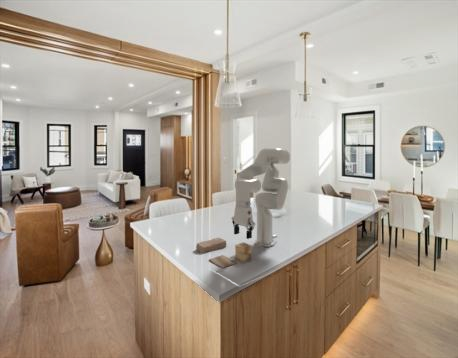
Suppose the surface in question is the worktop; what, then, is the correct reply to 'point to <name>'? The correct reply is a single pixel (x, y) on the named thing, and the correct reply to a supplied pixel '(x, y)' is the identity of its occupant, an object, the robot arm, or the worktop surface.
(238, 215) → the robot arm
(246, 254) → the oak block
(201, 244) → the brick
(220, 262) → the walnut board
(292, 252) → the worktop surface
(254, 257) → the pad
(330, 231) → the worktop surface
